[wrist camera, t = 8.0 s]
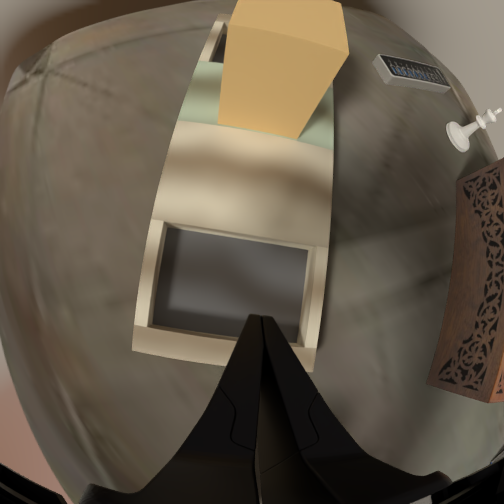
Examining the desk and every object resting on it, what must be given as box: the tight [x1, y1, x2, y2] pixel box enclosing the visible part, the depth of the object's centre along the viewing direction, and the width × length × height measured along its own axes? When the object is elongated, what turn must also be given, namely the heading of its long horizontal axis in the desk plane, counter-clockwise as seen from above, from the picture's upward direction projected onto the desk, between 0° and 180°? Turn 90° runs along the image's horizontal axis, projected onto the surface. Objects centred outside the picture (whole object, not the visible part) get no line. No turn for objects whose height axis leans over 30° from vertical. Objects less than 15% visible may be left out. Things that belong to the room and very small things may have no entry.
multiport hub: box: [372, 54, 450, 93], centre depth 31 cm, size 4×14×2 cm, turn 105°
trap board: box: [132, 14, 334, 372], centre depth 24 cm, size 37×14×2 cm, turn 172°
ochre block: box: [218, 0, 349, 139], centre depth 18 cm, size 7×7×11 cm
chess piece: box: [446, 108, 502, 152], centre depth 26 cm, size 5×5×10 cm
